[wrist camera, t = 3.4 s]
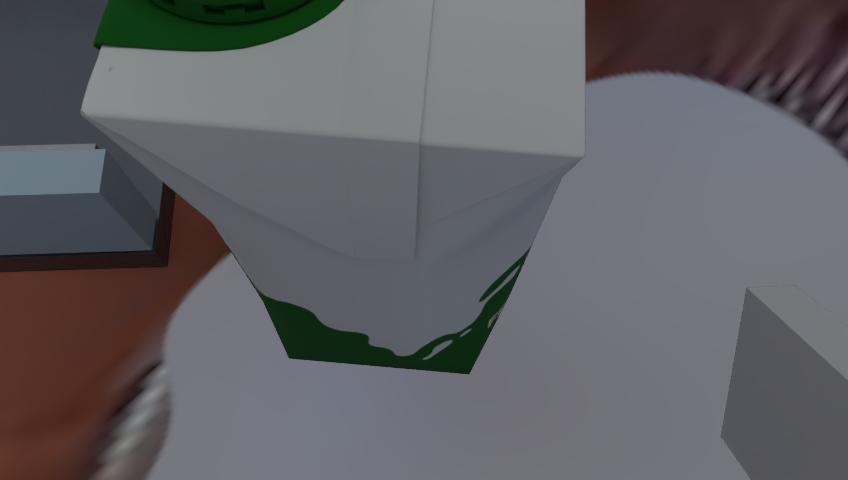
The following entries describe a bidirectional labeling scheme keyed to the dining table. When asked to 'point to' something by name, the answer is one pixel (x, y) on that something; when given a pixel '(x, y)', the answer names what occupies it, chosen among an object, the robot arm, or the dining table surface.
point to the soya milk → (356, 153)
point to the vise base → (65, 114)
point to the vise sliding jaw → (69, 202)
